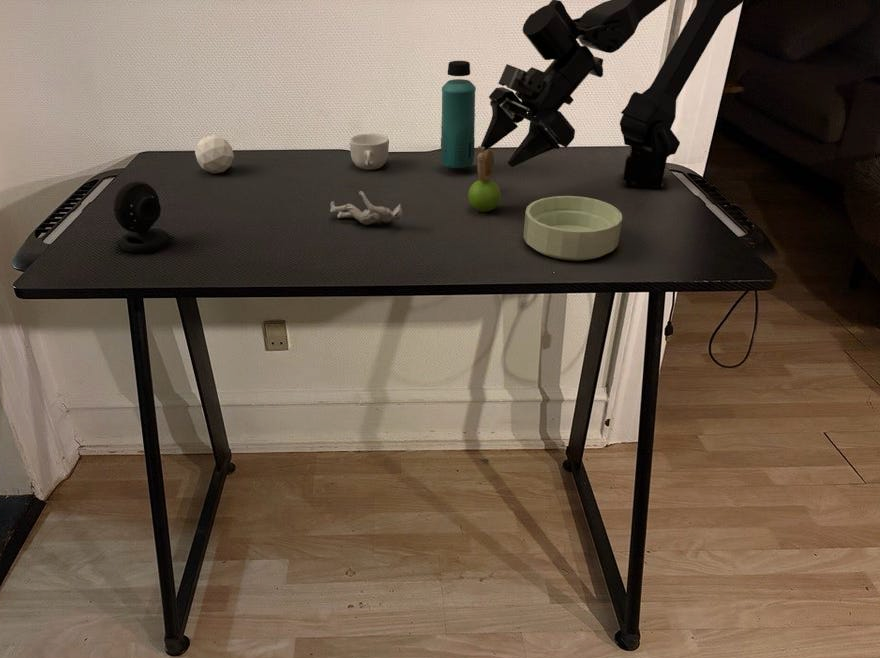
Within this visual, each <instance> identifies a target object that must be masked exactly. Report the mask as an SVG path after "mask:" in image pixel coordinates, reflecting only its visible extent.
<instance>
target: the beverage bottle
mask: <svg viewBox="0 0 880 658" xmlns="http://www.w3.org/2000/svg"><path fill="white" fill-rule="evenodd" d="M447 75H448V76H450V77H467V76H470V75H471V63H470V61H467V60H451V61H449V62H448V65H447ZM476 89H477V88H476V85H475V84H474V83H473V82H472V81H470V80H469V79H461V78H457V79H455V78H454V79H450V80H447V81H446V82H445V83H444V84H443V86H442V87H441V125H440V161H441V165H443V166H444V167H446V168H450V169H451V168H452V169H463V168H468V167H472V165H473V163H474V160H475V145H476V144H475V143H476V142H475V141H476V140H475V139H476V137H475V136H476V124H475V123H476V121H475V120H476V91H477V90H476Z"/></svg>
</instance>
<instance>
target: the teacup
mask: <svg viewBox="0 0 880 658" xmlns="http://www.w3.org/2000/svg"><path fill="white" fill-rule="evenodd" d="M389 145H390V140H389V137H388V136H387V135H385V134H382V133H375V132H367V133H360V134H355V135H352V136H351V137H350V139H349V149H350V156H351V160H352V162H353V164H354V165H355V166H356V167H358V168H360V169H361V170H366V171H373V170H378V169H380V168H381V167H383V166H384V165H385V164H386V163H387V161H388V159H389V149H390V147H389Z"/></svg>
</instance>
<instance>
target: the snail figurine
mask: <svg viewBox="0 0 880 658" xmlns="http://www.w3.org/2000/svg"><path fill="white" fill-rule="evenodd" d="M477 150H478V151H480V150H481V151H482V152H478V154H477V175H478V180H476V181H475V182H474V183H472V185H471V186H470V188H469V190H468V195H467V198H468V202H469V204H470V206H471V207H472V208H473V209H474V210H476V211H478V212H481V213H489V212H490V211H492V210H494V209H496V207H498V205H499V203H500V201H501V196H502V195H501V194H502V193H501V189H500V187H499V185H498V184H497V183H496V182H495V181H494V180H492V179H490V178H491V176H492V171H493V169H494V163H495V156H494V152H493V150H492V149H491V148H489V149H487V150H485V147H482V148H481V145H479V146H477ZM484 150H485V151H484Z"/></svg>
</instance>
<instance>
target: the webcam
mask: <svg viewBox="0 0 880 658" xmlns="http://www.w3.org/2000/svg"><path fill="white" fill-rule="evenodd" d="M161 211H162V207H161V204H160V199H159V195H158V193H157V191H156V190H155V189H154V188H153V186H152V185H150V184H149V183H147V182H144V181H135V180H134V181H131V182H128V183H125V184H124V185H123V186H122V187H120V189H118V191H117V193H116V195H115V196H114V201H113V214H114V217H115V219H116V221H117V223H118V224H119V226H121V228H123V229H124V230H126V231H128V232H127V233H125V234H123V235H122V236H121V238H120V239H119V243H118V244H119V247H120V248H121V249H122V250H123V251H125V252H128V253H132V254H146V253H152V252H156V251H160V250H161V249H163V248H164V247H166V246H167V245H168V244H169V242H170V235H169V233H168V232H167V231H166V230H164V229H162V228H158V227H157V228H156V227H153V226H154V224H155V223H156V222H157V221H158V219H159V218H160V216H161ZM135 240H136V241H137V240H140V241H142V242H143V243H133V241H135Z"/></svg>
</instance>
